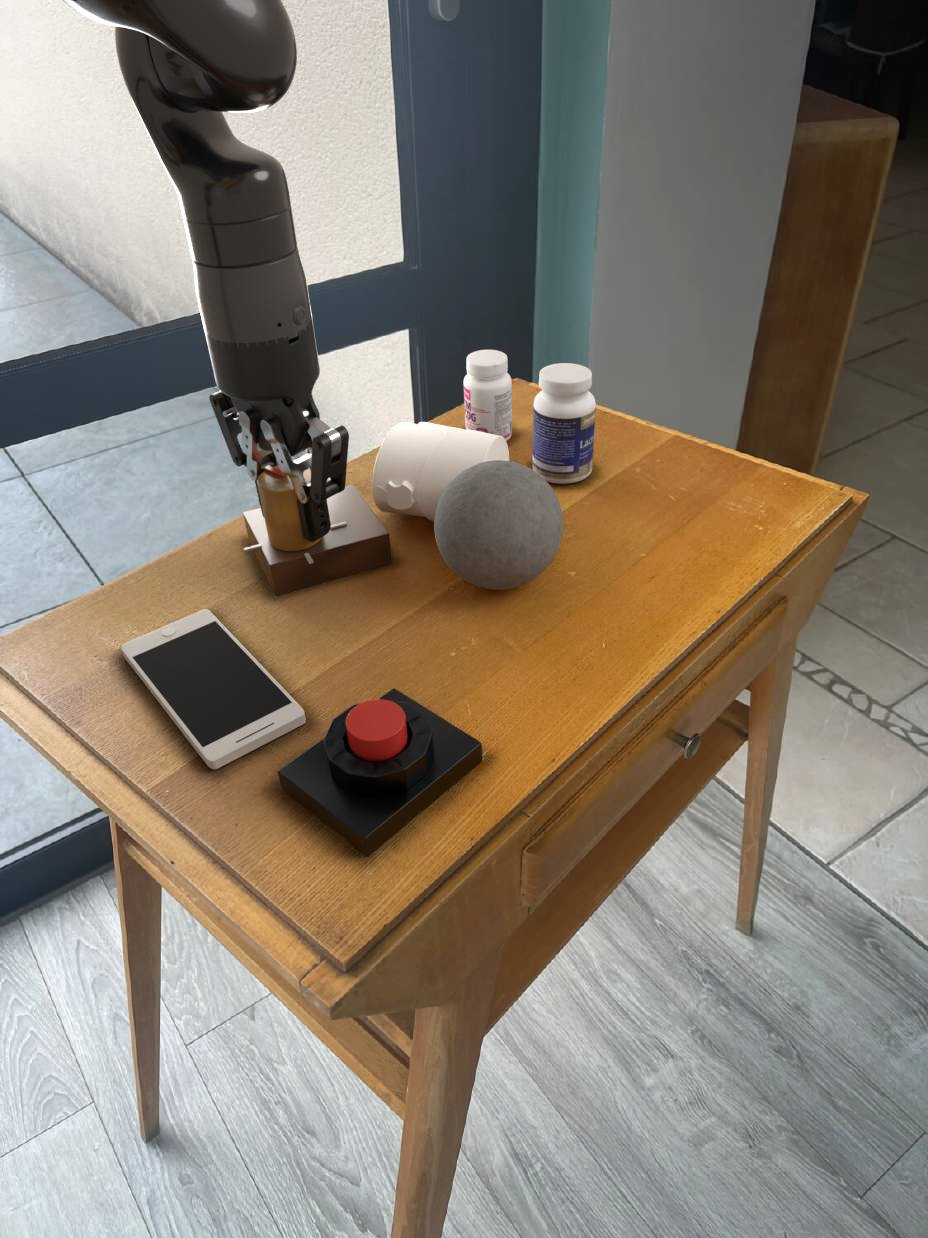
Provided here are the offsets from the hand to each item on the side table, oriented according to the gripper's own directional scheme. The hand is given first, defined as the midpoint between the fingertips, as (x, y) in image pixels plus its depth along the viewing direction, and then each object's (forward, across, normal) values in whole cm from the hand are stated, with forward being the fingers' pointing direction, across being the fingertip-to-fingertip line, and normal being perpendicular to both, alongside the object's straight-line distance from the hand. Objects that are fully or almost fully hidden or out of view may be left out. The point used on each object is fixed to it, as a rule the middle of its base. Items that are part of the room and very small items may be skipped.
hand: (296, 525), depth 76 cm
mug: (+4, +3, +15) cm, 16 cm away
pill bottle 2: (+4, +7, +26) cm, 27 cm away
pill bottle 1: (+4, -3, +27) cm, 28 cm away
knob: (+1, 0, 0) cm, 1 cm away
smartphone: (+4, +6, -14) cm, 16 cm away
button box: (+4, +22, -12) cm, 25 cm away
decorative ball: (+4, +14, +9) cm, 17 cm away
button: (+1, +22, -12) cm, 25 cm away
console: (+4, -1, +2) cm, 5 cm away
